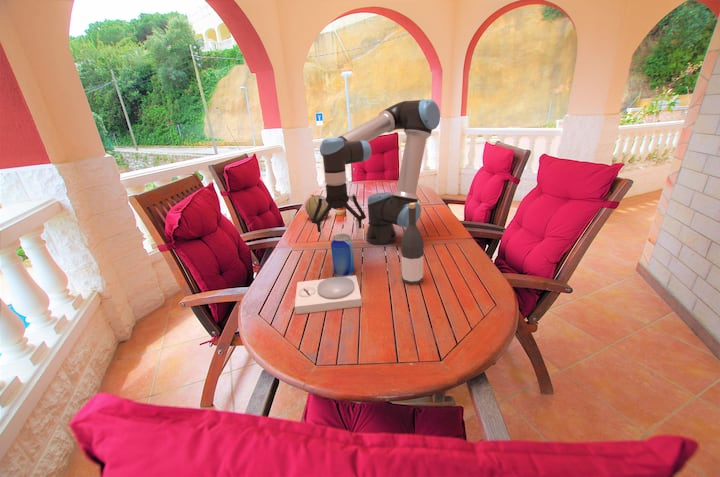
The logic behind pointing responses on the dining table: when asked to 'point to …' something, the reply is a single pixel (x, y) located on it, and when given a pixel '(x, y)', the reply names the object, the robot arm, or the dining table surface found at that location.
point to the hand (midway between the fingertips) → (340, 238)
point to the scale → (327, 294)
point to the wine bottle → (412, 251)
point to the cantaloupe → (315, 206)
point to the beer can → (342, 255)
